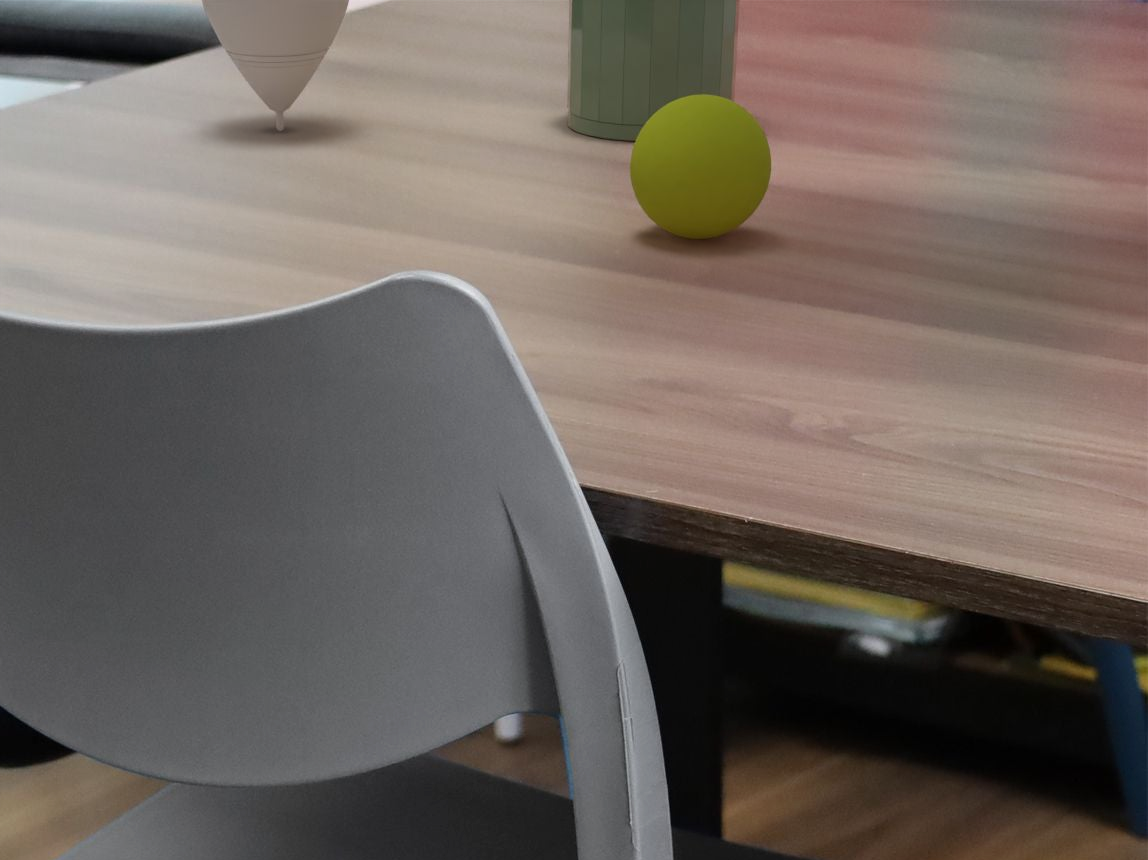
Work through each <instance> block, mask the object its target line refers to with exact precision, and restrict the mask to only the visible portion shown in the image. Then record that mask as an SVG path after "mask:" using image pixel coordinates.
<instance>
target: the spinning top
mask: <svg viewBox="0 0 1148 860" xmlns="http://www.w3.org/2000/svg"><path fill="white" fill-rule="evenodd" d="M201 2H202V3H201V4H202V7H203V10H204V12H205V14H206V17H207V19H208V21H209V23H210V25H211V27H212V30H213V31H214V33H215V35H216V37H217V39H218V41H219V43H220V44H221V46H222V48H223V49H224V51H225V52H226V53H227V55H228V57H229V59H230V60H231V62H232V63H233V64H234V65H235V67H236V68H237V70H238V71H239V73H240V74H241V76H242V77H243V78H244V80H245V81H246V82H247V84H248V85H249V86H250V87H251V89H252V90H253V91H254V93H255V94H256V95H257V96H258V97H259V99H260V100H261V101H262V102H263V103H264V104H265V105H266V107H268V109H269V110H271V111H273V112H274V113H275V128H276V130H277V131H279V132H280V131H281V132H282V131H283V130H284V129H285V128H284V125H285V124H284V113H285V112H286V111H287V110H289V109H290V108H291V107H292V105H294V103H295V101H296V100H297V99H298V98H299V97H300V95H301V94H302V92H303V91H304V90H305V88H306V87H307V85H308V84H309V83H310V81H311V80H312V77H313V76H314V75H315V73H316V72H317V70H318V68H319V66H320V65H321V63H322V61H323V60H324V58H325V56H326V55H327V53H328V51H329V50H330V48H331V47H332V45H333V43H334V41H335V38H336V36H337V34H338V31H339V30H340V27H341V24H342V23H343V21H344V18H345V15H346V12H347V10H348V5H349V2H350V0H201Z"/></svg>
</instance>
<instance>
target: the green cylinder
mask: <svg viewBox="0 0 1148 860" xmlns="http://www.w3.org/2000/svg"><path fill="white" fill-rule="evenodd" d="M739 17H740V0H568V49H567V94H566V95H567V97H566V98H567V99H566V100H567V101H566V102H567V103H566V108H567V125H568V127H569V129H570V130H573V132H577V133H578V134H582V135H586V136H590V137H595V138H600V139H606V140H616V141H627V142H635V141H636V139H637V137H638V135H639V133H640V131H641V129H642V128H643V126H644V125H645V124H646V122H647V121H648V120H649V119H650V118H651V117H652V116H653V114H655V113H656V112H657V111H658V110H659V109H661V108H662V107H664V106H665V105H667V104H668V103H670V102H672V101H675V100H677V99H679V98H683V97H686V96H691V95H702V94H704V95H715V96H720V97H723V98H726V99H729V100H731V101H733V102H735V97H736V96H735V95H736V79H737V77H736V76H737V57H738V56H737V55H738V36H739V19H740V18H739Z"/></svg>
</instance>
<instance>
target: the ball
mask: <svg viewBox="0 0 1148 860" xmlns="http://www.w3.org/2000/svg"><path fill="white" fill-rule="evenodd" d="M629 172H630V173H629V174H630V176H629V177H630V181H631V186H632V190H633V194H634V196H635V198H636V200H637V202H638V204H639V206H640V207H641V209H642V211H643V212H644V213H645V214H646V215H647V217H648V218H649V219H650V220H651V221H652V222H653V223H654V224H656V225H657V226H658V227H660V228H661V229H662V230H664V231H666V232H668V233H671V234H673V235H675V236H678V237H682V238H686V239H694V240H703V239H705V240H706V239H710V238H716V237H720V236H722V235H725V234H727V233H730V232H732V231H733V230H735V229H737V228H739V227H740V226H741V225H742V224H744V223H745V222H746V221H748V219H750V217H751V216H752V215H753V214H754V213H755V212H756V210H757V209H758V207H759V206H760V204H761V203H762V201H763V199H764V198H765V195H766V193H767V190H768V189H769V184H770V180H771V174H772V155H771V148H770V145H769V141H768V139H767V136H766V134H765V132H764V130H763V128H762V127H761V125H760V122H759V121H757V119H756V117H754V116H753V114H751V113H750V112H749V110H747V109H746V108H744V107H743V106H741V105H740V104H738V102H736V101H734V102H733V101H731V100H729V99H726V98H723V97H720V96H715V95H704V94H702V95H691V96H686V97H683V98H679V99H677V100H675V101H672V102H670V103H668V104H667V105H665V106H664V107H662V108H661V109H659V110H658V111H657V112H656V113H655V114H653V116H652V117H651V118H650V119H649V120H648V121H647V122H646V124H645V125H644V126H643V128H642V129H641V131H640V133H639V135H638V137H637V139H636V141H634V144H633V148H632V151H631V156H630V165H629Z"/></svg>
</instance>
